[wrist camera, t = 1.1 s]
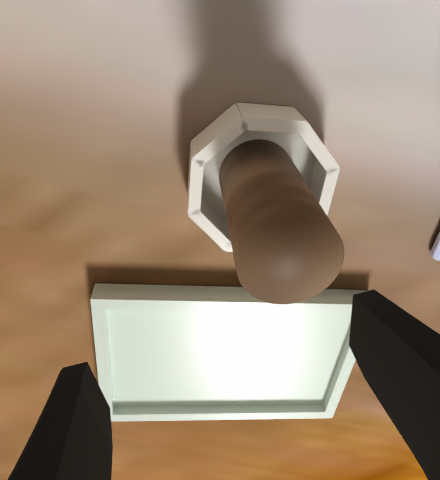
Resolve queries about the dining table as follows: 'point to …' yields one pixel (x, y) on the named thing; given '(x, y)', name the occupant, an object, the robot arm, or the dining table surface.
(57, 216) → the dining table surface
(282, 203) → the dowel pin
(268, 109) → the white octagonal dish
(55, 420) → the robot arm
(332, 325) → the sage tray
